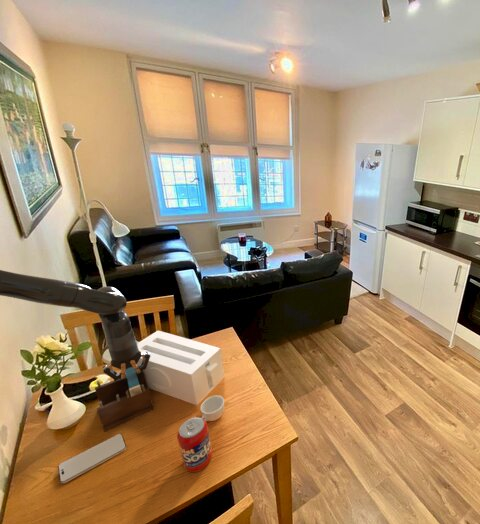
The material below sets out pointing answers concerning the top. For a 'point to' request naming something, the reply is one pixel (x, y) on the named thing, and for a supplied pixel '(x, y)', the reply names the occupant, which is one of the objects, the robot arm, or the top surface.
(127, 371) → the peg
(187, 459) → the soda can
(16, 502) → the top surface
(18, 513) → the top surface
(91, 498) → the top surface
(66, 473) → the smartphone
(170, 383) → the toaster
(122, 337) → the robot arm
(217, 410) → the teacup
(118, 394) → the rack
